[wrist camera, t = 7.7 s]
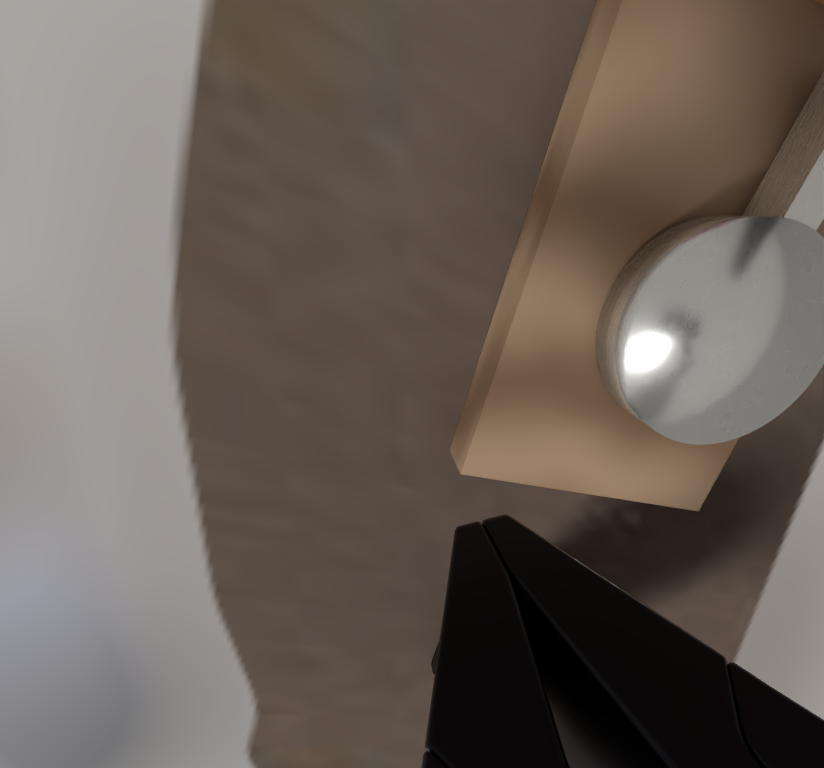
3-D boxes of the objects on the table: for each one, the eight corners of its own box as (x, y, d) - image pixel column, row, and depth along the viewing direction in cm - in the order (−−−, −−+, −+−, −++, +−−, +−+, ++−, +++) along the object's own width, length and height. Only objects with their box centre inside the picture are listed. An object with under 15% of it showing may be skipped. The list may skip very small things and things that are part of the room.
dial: (715, 441, 19) (872, 538, 14) (559, 391, 17) (666, 480, 12) (922, 115, 16) (1257, 61, 10) (752, 1, 14) (1052, -149, 8)
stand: (669, 487, 23) (705, 516, 21) (449, 449, 20) (463, 479, 18) (904, 33, 17) (990, 6, 15) (631, -109, 14) (686, -168, 12)
